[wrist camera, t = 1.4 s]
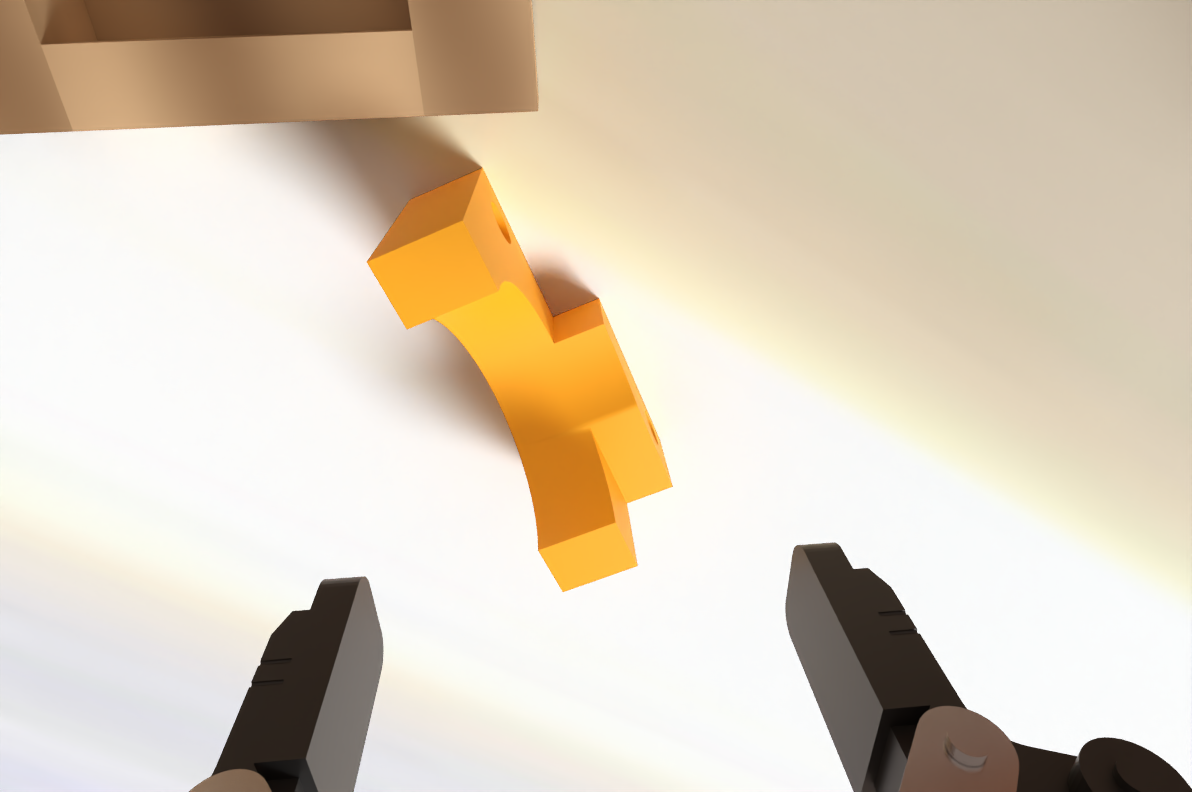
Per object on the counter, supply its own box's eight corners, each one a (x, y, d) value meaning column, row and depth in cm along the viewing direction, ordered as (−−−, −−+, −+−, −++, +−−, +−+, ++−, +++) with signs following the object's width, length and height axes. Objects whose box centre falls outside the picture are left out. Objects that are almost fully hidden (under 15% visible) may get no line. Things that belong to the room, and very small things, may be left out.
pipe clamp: (659, 437, 28) (689, 547, 22) (558, 475, 28) (563, 592, 23) (533, 144, 22) (530, 191, 16) (410, 199, 23) (366, 261, 17)
